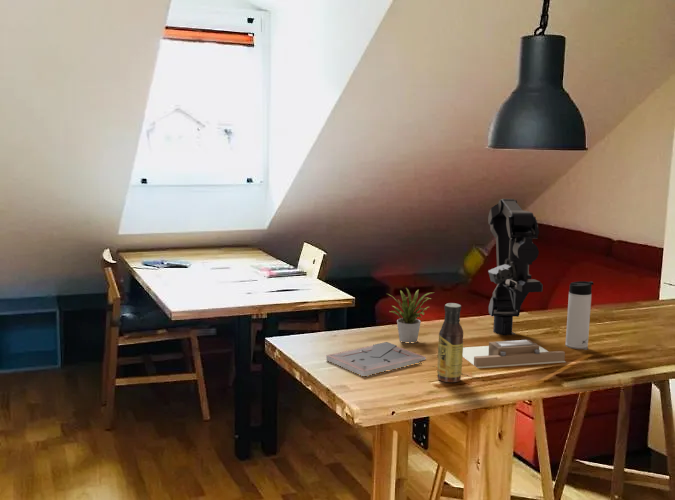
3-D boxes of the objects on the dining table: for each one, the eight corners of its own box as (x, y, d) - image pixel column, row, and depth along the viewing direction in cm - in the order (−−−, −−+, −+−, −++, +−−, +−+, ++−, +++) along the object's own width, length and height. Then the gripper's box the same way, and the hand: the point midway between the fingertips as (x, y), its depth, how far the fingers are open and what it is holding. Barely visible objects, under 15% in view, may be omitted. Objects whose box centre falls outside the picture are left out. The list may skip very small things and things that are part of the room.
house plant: (445, 341, 232) (448, 288, 230) (417, 351, 222) (419, 295, 220) (408, 332, 242) (409, 280, 239) (379, 341, 232) (380, 287, 229)
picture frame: (386, 349, 226) (326, 363, 213) (386, 341, 226) (326, 354, 213) (425, 364, 213) (363, 379, 200) (425, 356, 213) (363, 370, 200)
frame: (488, 356, 216) (489, 340, 215) (528, 354, 219) (528, 338, 218) (497, 363, 210) (498, 347, 209) (538, 360, 213) (539, 344, 212)
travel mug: (589, 352, 224) (594, 284, 220) (566, 350, 225) (570, 283, 222) (587, 346, 230) (592, 279, 226) (564, 344, 231) (568, 278, 228)
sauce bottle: (434, 375, 202) (437, 301, 199) (458, 375, 203) (461, 301, 199) (439, 384, 196) (442, 307, 192) (464, 384, 196) (467, 307, 193)
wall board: (451, 350, 224) (452, 336, 223) (534, 345, 230) (535, 331, 229) (477, 370, 206) (478, 355, 206) (566, 364, 212) (567, 349, 212)
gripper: (479, 251, 227) (476, 303, 230) (507, 263, 209) (504, 319, 212) (514, 250, 230) (511, 301, 232) (545, 262, 212) (541, 317, 215)
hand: (516, 309), depth 223 cm, fingers closed
